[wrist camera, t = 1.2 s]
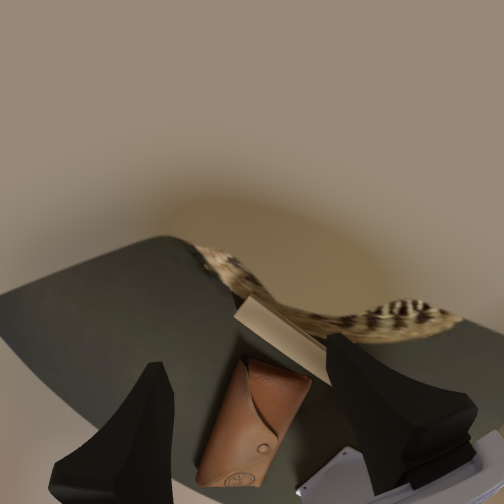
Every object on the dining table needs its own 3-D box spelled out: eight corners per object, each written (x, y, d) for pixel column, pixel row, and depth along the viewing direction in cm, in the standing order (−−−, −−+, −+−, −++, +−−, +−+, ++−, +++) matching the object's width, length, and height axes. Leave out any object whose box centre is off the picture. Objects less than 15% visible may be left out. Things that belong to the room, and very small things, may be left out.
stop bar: (367, 402, 31) (374, 414, 28) (236, 310, 32) (233, 316, 29) (381, 386, 31) (390, 397, 28) (251, 292, 32) (249, 296, 29)
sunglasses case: (262, 490, 31) (232, 514, 26) (220, 463, 35) (186, 480, 30) (316, 374, 31) (289, 387, 26) (262, 348, 35) (227, 355, 30)
